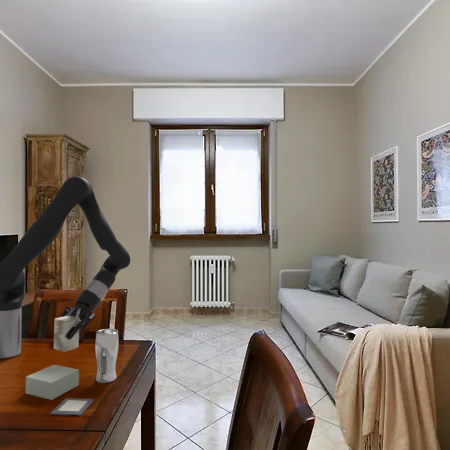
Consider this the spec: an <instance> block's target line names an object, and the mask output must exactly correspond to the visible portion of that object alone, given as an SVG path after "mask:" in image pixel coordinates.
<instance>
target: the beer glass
mask: <svg viewBox="0 0 450 450" xmlns="http://www.w3.org/2000/svg"><path fill="white" fill-rule="evenodd" d="M95 333H96V334H95V343H94V345H95V346H94V347H95V357H96V364H97V365H96V366H97V373H96V377H95V380H96V382H97V383H99V384H106V383H111V382H114V381H115V380H117V373H116V365H117V357H118V353H119V330H118V329H116V328H103V329H99V330H97V331H96V332H95Z"/></svg>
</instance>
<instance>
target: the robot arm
mask: <svg viewBox="0 0 450 450" xmlns="http://www.w3.org/2000/svg"><path fill="white" fill-rule="evenodd" d="M77 205H78V207H80V209H81V210H82V213H83V214H84V216H85V218H86V220H87V224H88V226H89V228H90V231H91V234H92V236H93V238H94V239H95V241H96V243H97V245H98V246H99V248H100V249H101V250H102V251H105V252H107V254H108V255H109V256H108V257H107V258H106V259H105V260H104V262H103V263H102V265H101V267H100V270H99V271H98V272H97V273H96V274H95V275H94V277H93V278H92V280H91V281H90V282H89V283H88V284H86V287H85V288H84V289H83V290H82V291H81V293H80V294H79V295H78V296H77V297H76V300H75V304H74V305H73V306H72V307H70V306H66V307H65V308H64V309H63V311H62V313H61V315H60V316H59V318H60V317H64V316H73V317H75V318H76V322H75V323H74V325H73V326H74V327H71V329H70V330H69V332H68V333H67V334H66V336H65V337H66V338H67V339H69V340H71V338H72V337H73V336H74V335H75V334H76V332H77V331H78V330H80V329H82V330H84V329H85V330H86V328H87V327H88V326H89V325H90V323H91V322H92V321H93V320H95V317H96V314H95V313H94V312H95V311H96V309H97V308H98V306H99V305H100V304H101V302H102V301H103V299H105V298H106V295H107V293H108V292H109V290H110V289H111V287H112V286H113V285H114V284H115V282H116V276H117V275H118V274H119V272H120V271H122V270H124V269H126V268H128V267H129V265H130V264H131V256H130V253H129V252H128V250H127V249H126V248H125V247H124V246H123V244H122V243H121V242H120V241H119V239H117V237H116V235H115V233H114V231H113V230H112V227H111V226H110V224H109V223H108V221H107V218H106V217H105V216H104V213H103V212H102V210H101V207H100V205H99V204H98V201H97V199H96V196H95V192H94V189H93V186H92V184H91V182H90V181H89V180H88V179H87V178H84V177H82V176H78V175H75V176H70V177H68V178H67V179H65V181H64V182H63V183H62V185H61V187H60V189H58V191H57V193H56V194H55V196H54V198H53V199H52V201H51V202H50V203H49V204H48V206H47V207H46V208H45V209H44V210H43V211H42V212H41V214H40V215H38V217H37V218H36V219H35V221H34V222H32V224H31V226H30V227H29V228H28V230H27V231H26V232H25V233H24V235H23V236H22V237H21V239H20V240H19V241H18V242H17V243H16V245H15V246H14V247H13V249H12V250H11V252H9V254H8V255H7V256H6V257H5V258H4V259H3V260H2V261H1V262H0V359H8V358H9V359H10V358H12V357H15V356H18V355H20V354H21V353H22V352H21V351H22V310H23V309H22V307H23V300H24V297H25V289H26V288H25V286H26V274H25V272H24V269H25V268H26V267H27V266H28V265H29V264H30V263H31V262H32V261H33V260H35V259H36V258H37V257H38V256H39V255H41V254H42V252H44V251H46V249H48V248H49V246H50V245H51V244H52V242H54V241H55V239H56V237H57V236H58V235H59V233H60V232H61V230H62V228H63V226H64V224H65V221H66V220H67V217H68V215H69V214H70V213H71V211H72V210H73V209H74V208H75V207H77ZM78 322H79V324H78ZM84 322H86V323H85V324H84ZM83 324H84V325H83Z"/></svg>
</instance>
